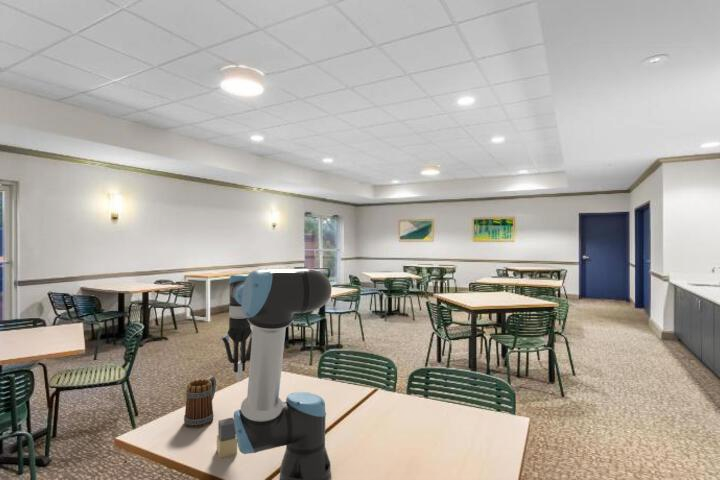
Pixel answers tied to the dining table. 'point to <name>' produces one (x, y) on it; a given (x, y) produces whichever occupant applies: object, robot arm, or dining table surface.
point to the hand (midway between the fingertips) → (239, 380)
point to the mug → (199, 402)
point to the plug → (226, 438)
